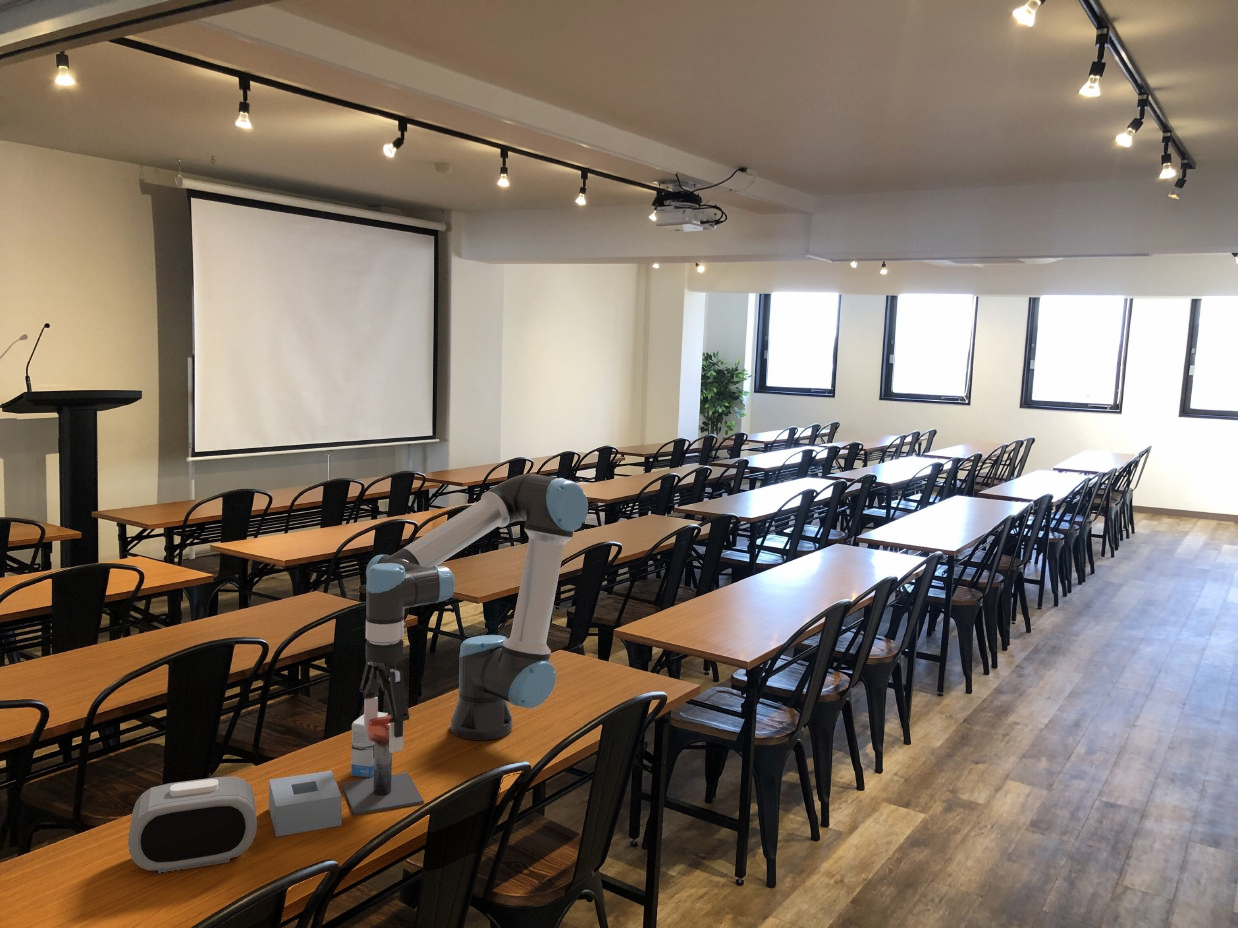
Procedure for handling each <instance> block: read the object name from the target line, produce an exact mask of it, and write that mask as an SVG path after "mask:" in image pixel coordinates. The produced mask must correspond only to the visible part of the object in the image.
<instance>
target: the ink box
mask: <svg viewBox="0 0 1238 928" xmlns="http://www.w3.org/2000/svg"><path fill="white" fill-rule="evenodd" d="M386 716H389V713H388V712H380V711H378V717H386ZM350 767H351V771H350V773H351V774H350V775H351V776H353V777H354V776H355V777H360V778H361V777H363V778H367V779H369V778H373V777H374V742H373V741H370V740H369V739H368V729H366V730H365V729H364V713H363V714H362V715H360V716H359V717H358V718H357V719H355V720H354V721H353V722H352V724H351V765H350Z"/></svg>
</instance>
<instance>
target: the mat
mask: <svg viewBox="0 0 1238 928" xmlns="http://www.w3.org/2000/svg"><path fill="white" fill-rule="evenodd" d="M341 787H342V789H343V791H344V792H343V793H344V794H345V797H346V800H347V803H349V806H350V809H351V811H352V814H353V816H361V815H365V814H370V813H377V812H382V811H389V810H395V809H400V808H406V807H411V806H417V805H423V804H425V800H424V799H423V797H422V795H421V793H420V792H419V790H418V788H417V787H416V785H415V783H414V780H413V779H412V778H411V776H410V774H409V772H402V773H397V774H396V773H395V774H392V778H391V793H389V794H387V795H382V796H380V795H375V794H374V793H373V788H374V777H371V778H365V779H363V778H362V779H359V780H352V781H351V780H350V781H346V782H345V781H344V782H341Z"/></svg>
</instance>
